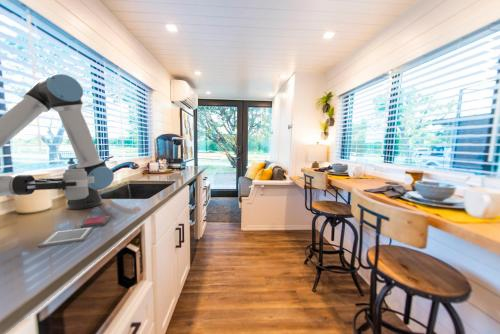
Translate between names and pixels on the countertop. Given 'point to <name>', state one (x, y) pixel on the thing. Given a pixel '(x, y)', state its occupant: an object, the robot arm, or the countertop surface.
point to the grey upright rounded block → (75, 192)
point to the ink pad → (95, 222)
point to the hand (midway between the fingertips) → (90, 181)
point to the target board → (67, 236)
